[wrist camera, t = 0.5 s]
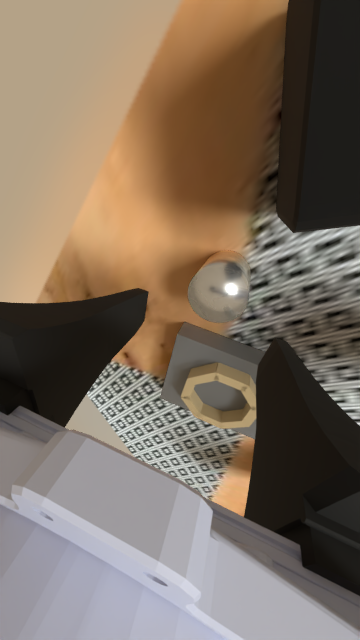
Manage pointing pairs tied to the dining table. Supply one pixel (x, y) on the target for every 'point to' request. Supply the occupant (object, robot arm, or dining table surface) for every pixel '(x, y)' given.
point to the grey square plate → (214, 379)
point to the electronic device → (320, 117)
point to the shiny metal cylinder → (221, 287)
